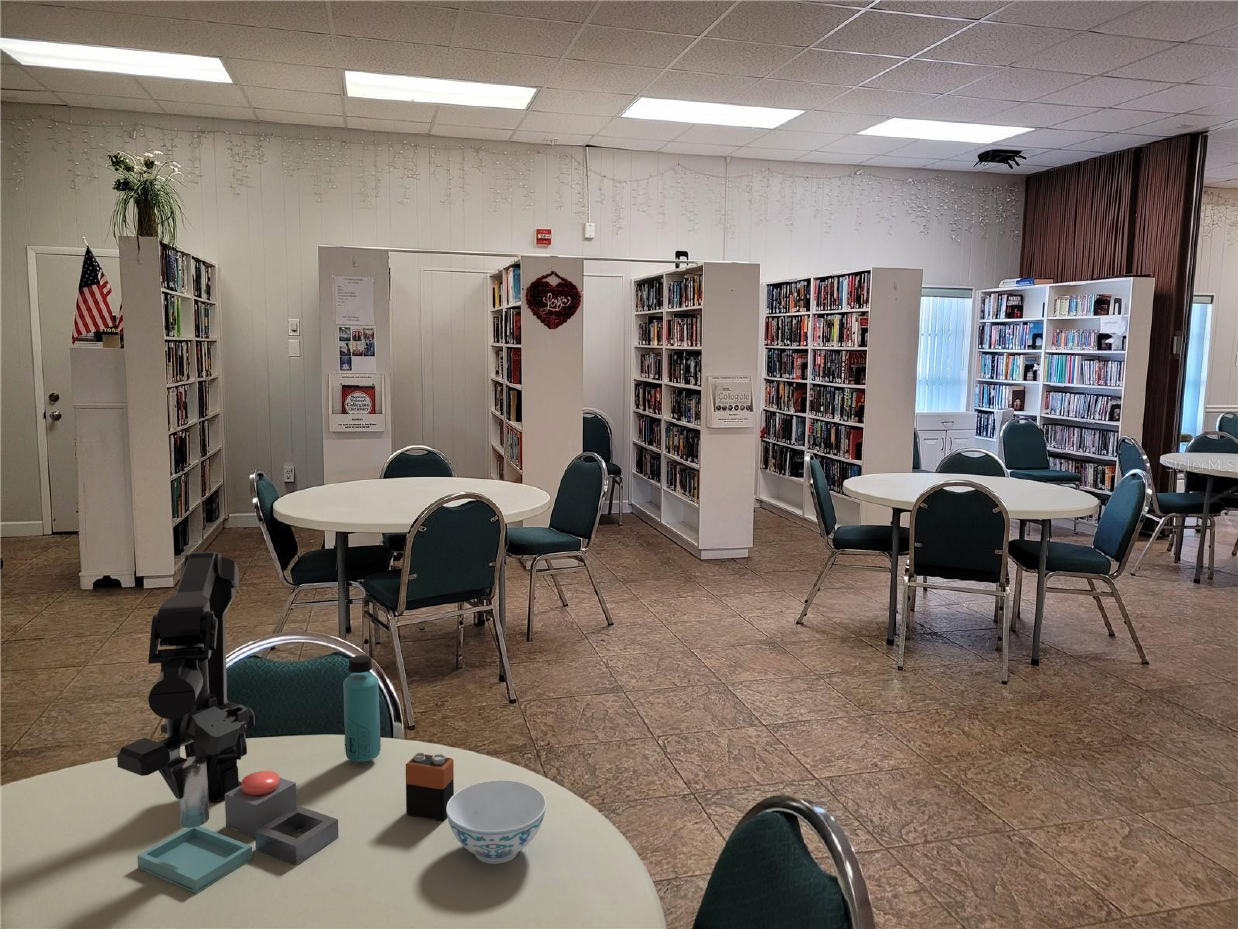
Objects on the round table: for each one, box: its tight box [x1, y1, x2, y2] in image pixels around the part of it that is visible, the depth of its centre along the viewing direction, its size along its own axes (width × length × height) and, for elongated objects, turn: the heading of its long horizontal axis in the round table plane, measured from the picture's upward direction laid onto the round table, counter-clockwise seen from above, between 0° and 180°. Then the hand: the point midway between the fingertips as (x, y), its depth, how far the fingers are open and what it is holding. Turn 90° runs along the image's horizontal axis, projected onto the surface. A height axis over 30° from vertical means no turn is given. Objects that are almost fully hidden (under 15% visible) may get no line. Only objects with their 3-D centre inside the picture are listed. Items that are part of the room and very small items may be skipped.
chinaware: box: [446, 779, 547, 865], centre depth 136 cm, size 15×15×8 cm
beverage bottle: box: [342, 654, 382, 763], centre depth 163 cm, size 6×7×20 cm
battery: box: [405, 752, 455, 822], centre depth 147 cm, size 4×7×10 cm, turn 75°
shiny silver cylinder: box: [177, 756, 210, 829], centre depth 131 cm, size 4×4×9 cm
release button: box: [240, 770, 280, 797], centre depth 144 cm, size 6×6×4 cm
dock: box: [224, 776, 298, 838], centre depth 144 cm, size 7×8×6 cm
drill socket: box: [254, 805, 339, 866], centre depth 138 cm, size 8×8×3 cm
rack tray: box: [136, 825, 253, 894], centre depth 132 cm, size 13×10×2 cm
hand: (192, 791), depth 131 cm, fingers closed on shiny silver cylinder, 4 cm apart
